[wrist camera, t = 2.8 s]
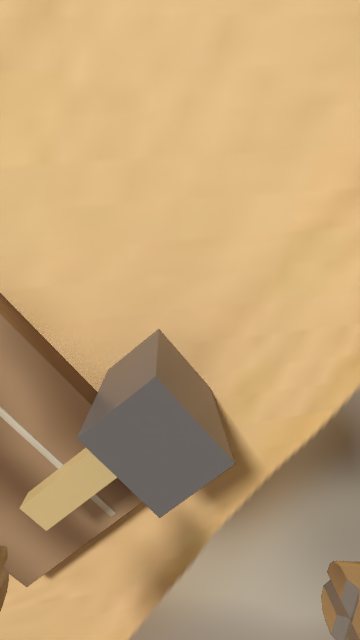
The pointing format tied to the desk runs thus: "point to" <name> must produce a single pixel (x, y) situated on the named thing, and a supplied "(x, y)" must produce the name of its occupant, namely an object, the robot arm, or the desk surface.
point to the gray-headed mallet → (141, 437)
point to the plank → (43, 449)
